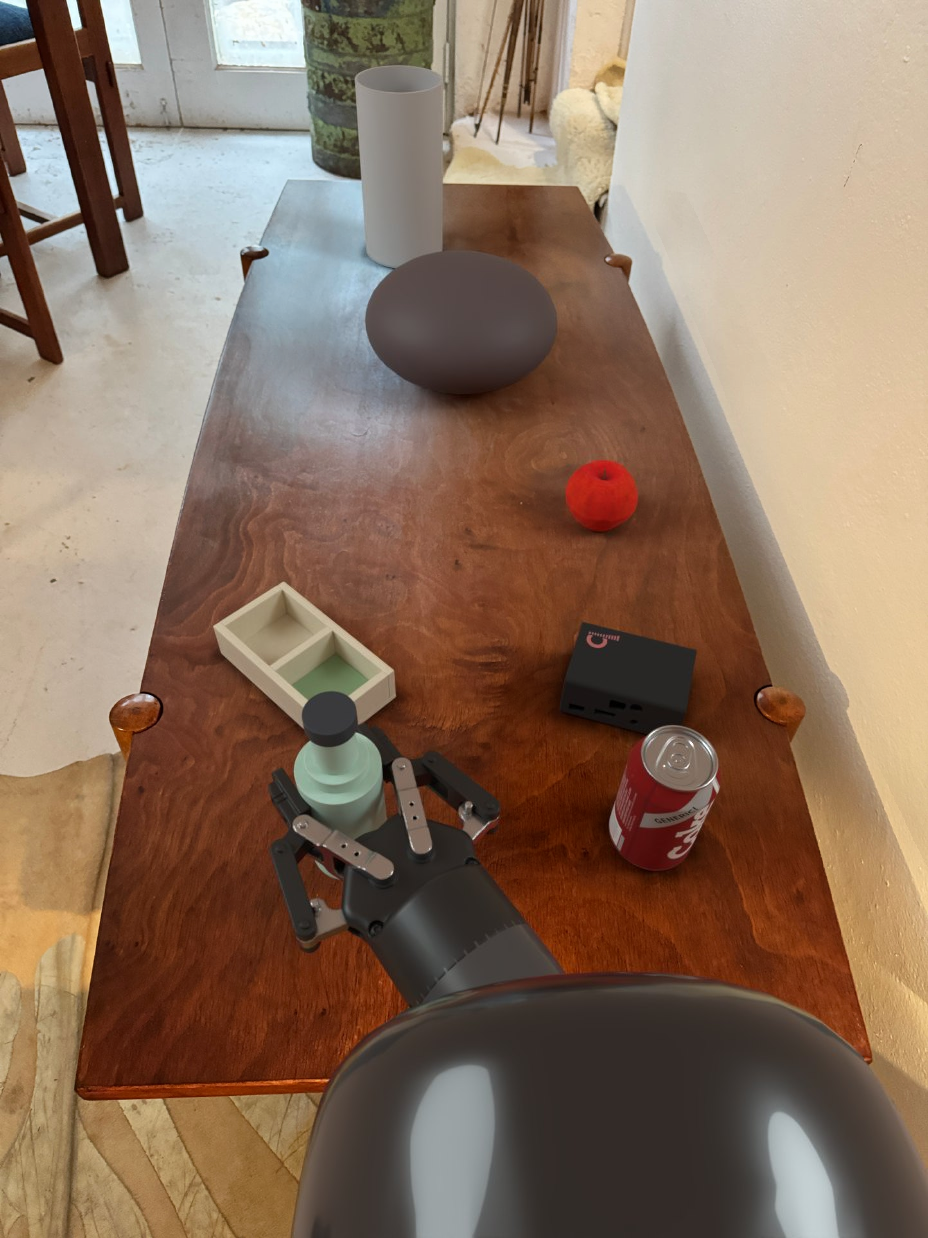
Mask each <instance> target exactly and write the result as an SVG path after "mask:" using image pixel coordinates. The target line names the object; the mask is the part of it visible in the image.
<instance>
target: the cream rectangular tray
mask: <svg viewBox="0 0 928 1238" xmlns="http://www.w3.org/2000/svg"><path fill="white" fill-rule="evenodd" d="M212 627H213V631H214V634H215V637H216V640H217V644H218V647H219V651H220V654H221V655H222V656H223V657H225V659H226V660H228V661H229V662H230V663H231V664H232V665H233V666H234V667H236V669H238V670H239V671H240V673H242V674H243V675H244V676H245V677H246V678H247V679H248V680H249V681H250V682H251V683H252V684H254V685H255V686H256V687H257V688H258V689H259V690H261V691H262V692H263V693H264V694H265V695H266V696H267V697H268V698H269V699H270V700H271V701H273V703H275V705H277V707H279V708H280V709H281V710H282V711H283V712H284V713H286V714H287V715H288V716H289V718H291V719H292V720H293V721H294V722H295V723H296V724H297V725H299V727H300V728H302V729H303V730H304V727H303V722H302V710H303V707H304V706H305V704H306V703H307V701H308V700H309V699H311V698H312V697H313V696H315V695H317V694H319V693H322V692H327V691H336V692H341V693H343V694H345V695H347V696H349V697H350V698H351V699H352V700H353V702H354V703H355V706H356V710H357V718H358V725H359V724H361V723H363V722H365V723H366V721H368V720H369V719H370V718H371V717H372V716H373V715H375V714H376V713H378V712H379V711H380V710H381V709H382V708H384V707H385V706H386V705H388V704H389V703H390V702H391V701H393V700H394V699H395V698H397V692H396V679H395V678H396V675H395V670H394V669H393V668H392V667H391V666H389V665H388V664H387V663H386V662H385V661H383V660H382V659H381V658H380V657H378V656H377V655H376V654H375V653H373V652H372V651H371V650H370V649H368V648H367V647H366V646H365V645H363V644H362V643H361V642H360V641H358V639H356V638H355V637H354V636H352V635H351V634H350V633H348V632H347V631H346V630H345V629H344V628H342V627H341V626H340V625H339V624H338V623H336V622H335V621H334V620H332V618H331V617H329V616H328V615H326V614H325V613H324V612H322V611H321V609H319V608H318V607H316V606H315V605H314V604H312V602H311V601H309V600H308V599H307V598H305V597H304V596H303V595H301V594H300V593H299V592H297V591H296V590H295V588H293V587H292V586H290V585H289V584H288V583H287V582H286V581H282V582H280V583H279V584H278V585H275V586H273V587H272V588H271V589H269V590H268V591H265V593H263V594H261V595H260V596H258V597H257V598H255V599H253V600H252V601H250V602H248V603H247V604H246V605H244V606H242V607H241V608H239V609H237V610H236V611H234V612H233V613H231V614H229V615H228V616H226V617H224V618H223V619H222V620H220V621H218V622H217V623H216V624H214V625H213V626H212Z"/></svg>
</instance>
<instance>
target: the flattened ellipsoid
mask: <svg viewBox="0 0 928 1238" xmlns="http://www.w3.org/2000/svg"><path fill="white" fill-rule="evenodd" d="M372 291H373V292H372V293H371V295H370V298H369V299H368V302H367V305H366V309H365V317H364V325H365V332H366V335H367V340H368V342H369V344H370V346H371V348H372V350H373V351H374V353H375V355H376V356H377V358H378V359H379V360H380V362H382V363H383V365H384V366H386V368H388V369H389V370H391V371H392V372H393V373H394V374H395V375H397V376H399V377H400V378H402V380H404V381H407V382H409V383H411V384H413V385H415V386H417V387H421V388H424V389H427V390H431V391H434V392H439V393H444V394H450V395H451V394H452V395H473V394H475V395H476V394H482V393H488V392H491V391H496V390H500V389H503V388H506V387H509V386H511V385H513V384H515V383H517V382H519V381H521V380H523V379H524V378H526V377H527V376H528V375H530V374H531V373H532V372H534V371H535V370H537V369H538V368H539V367H540V365H541V364H542V363H543V362H544V361H545V360H546V358H547V357H548V355H549V354H550V353H551V351H552V350H553V349H552V348H553V346H554V343H555V340H556V337H557V334H558V313H557V310H556V307H555V304H554V302H553V300H552V297H551V296H550V293H549V291H548V290H547V289H546V288H545V286H544V285H543V283H541V282H540V280H539V279H538V278H537V277H536V275H534V274H532V273H531V272H530V271H529V270H527V269H526V268H524V267H522V266H521V265H519V264H517V263H515V262H513V261H512V260H510V259H507V258H504V257H501V256H499V255H495V254H491V253H487V252H483V251H477V250H469V249H468V250H467V249H455V250H454V249H450V250H442V251H441V252H435V253H431V254H426V255H422V256H420V257H417V258H414V259H412V260H410V261H408V262H406V263H404V264H402V265H401V266H399V267H397V268H393V269H392V271H390V272H389V273H387V275H385V276H384V278H383V279H381V281H380V282H379V283H378V284H377V285H376V287H375V288H374V290H372Z"/></svg>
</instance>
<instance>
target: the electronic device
mask: <svg viewBox="0 0 928 1238" xmlns="http://www.w3.org/2000/svg"><path fill="white" fill-rule="evenodd" d="M697 653H698V650H697V649H696V648H692V647H687V646H682V645H679V644H674V643H671V642H667V641H662V640H658V639H654V638H650V637H646V636H642V635H638V634H634V633H630V632H626V631H622V630H618V629H614V628H610V627H606V626H602V625H598V624H594V623H591V622H590V623H589V622H586V621H581V624H580V627H579V631H578V634H577V638H576V641H575V644H574V647H573V651H572V654H571V657H570V660H569V663H568V667H567V671H566V673H565V676H564V682H563V686H562V691H561V698H560V701H559V702H560V703H559V708H558V710H559V711H560V712H562V713H565V714H568V715H569V714H570V715H574V716H577V717H580V718H584V719H589V720H592V721H596V722H600V723H603V724H607V725H610V726H614V727H618V728H622V729H626V730H628V731H633V732H636V733H640V734H644V735H646V736H647V735H648V734H649V733H650V732H652V731H653V730H655V729H657V728H659V727H663V726H668V725H677V726H683V722H684V719H685V716H686V713H687V709H688V705H689V704H688V703H689V698H690V693H691V687H692V682H693V676H694V670H695V664H696V658H697Z"/></svg>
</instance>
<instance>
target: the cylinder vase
mask: <svg viewBox="0 0 928 1238" xmlns="http://www.w3.org/2000/svg"><path fill="white" fill-rule="evenodd" d="M354 87H355V103H356V104H355V105H356V117H357V119H356V120H357V133H358V148H359V149H358V150H359V162H360V164H359V165H360V179H361V194H362V195H361V196H362V210H363V212H362V213H363V224H364V239H365V240H364V242H365V251H366V254H367V256H368V257H369V258H370V259H371V260H372V261H373V262H374V263H376V264H378V265H380V266H383V267H387V268H391V269H395V268H397V267H399V266H401V265H402V264H404V263H406V262H408V261H410V260H412V259H414V258H417V257H420V256H422V255H426V254H431V253H435V252H441V251H443V247H444V244H443V241H444V240H443V236H444V235H443V234H444V233H443V232H444V231H443V229H444V227H443V223H444V221H443V219H444V216H443V215H444V211H443V210H444V209H443V207H444V205H443V204H444V201H443V199H444V163H443V162H444V78H443V76H442V75H441V74H440V73H438V72H437V71H434V70H432V69H429V68H426V67H421V66H413V65H403V64H401V65H384V66H383V65H382V66H374V67H370V68H367V69H365V70H362V71H360V72H358V73H357V74H356V75H355V76H354Z"/></svg>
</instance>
